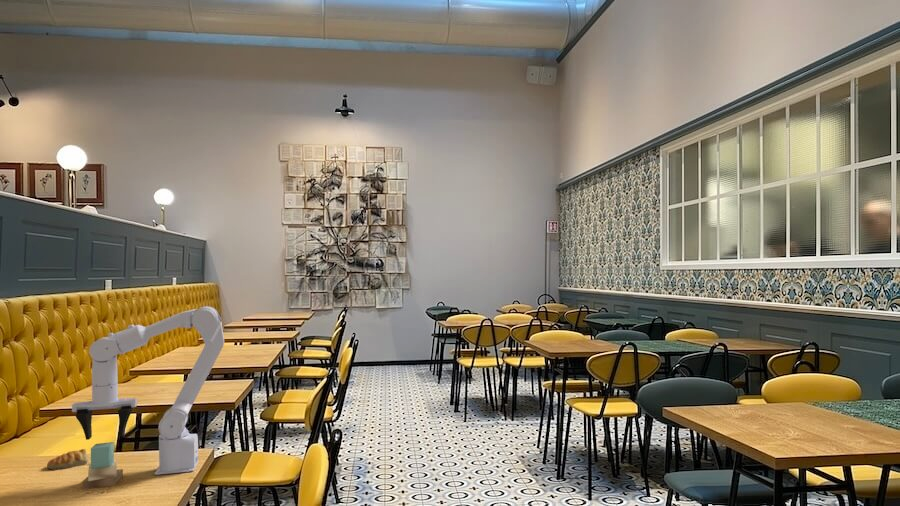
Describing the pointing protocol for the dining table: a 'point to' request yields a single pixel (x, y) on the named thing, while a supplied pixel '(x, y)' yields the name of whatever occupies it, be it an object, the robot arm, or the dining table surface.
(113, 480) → the tower base
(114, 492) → the dining table surface
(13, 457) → the dining table surface
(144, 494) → the dining table surface
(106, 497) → the dining table surface
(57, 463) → the pastry
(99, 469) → the tower top
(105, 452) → the teal block
